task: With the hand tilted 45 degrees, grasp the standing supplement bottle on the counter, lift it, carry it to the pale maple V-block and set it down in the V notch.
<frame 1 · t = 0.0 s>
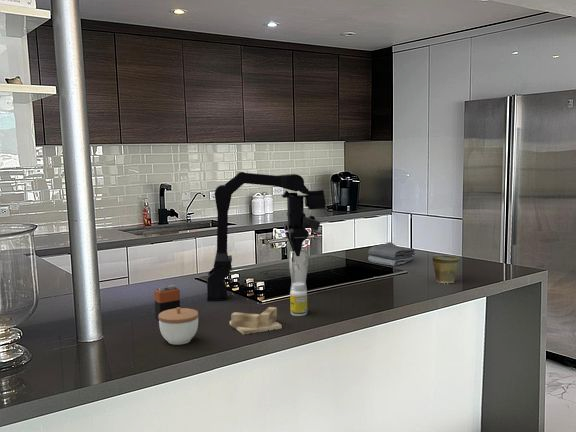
hand: (296, 253, 197), 15 cm above the counter, tool pointing down, fingers open, 8 cm apart
lidded jar: (179, 341, 153), on the counter
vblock: (253, 324, 166), on the counter
battery: (167, 318, 174), on the counter
beer glass: (298, 291, 205), on the counter, touching gripper
supplement bottle: (298, 314, 177), on the counter
towel: (391, 262, 256), on the counter
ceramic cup: (445, 282, 218), on the counter
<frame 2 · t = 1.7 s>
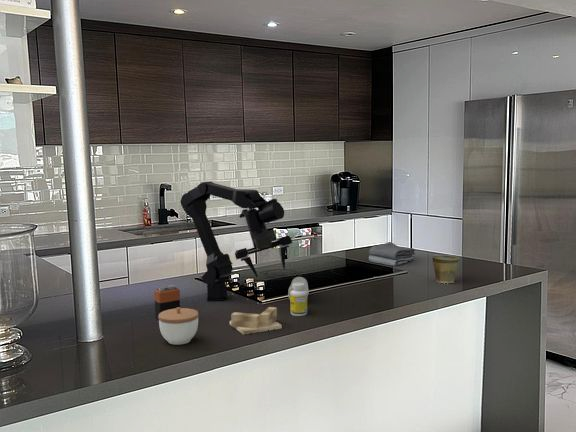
hand: (270, 273, 181), 12 cm above the counter, tool tilted 20°, fingers open, 9 cm apart
beer glass: (299, 284, 201), point 3 cm above the counter
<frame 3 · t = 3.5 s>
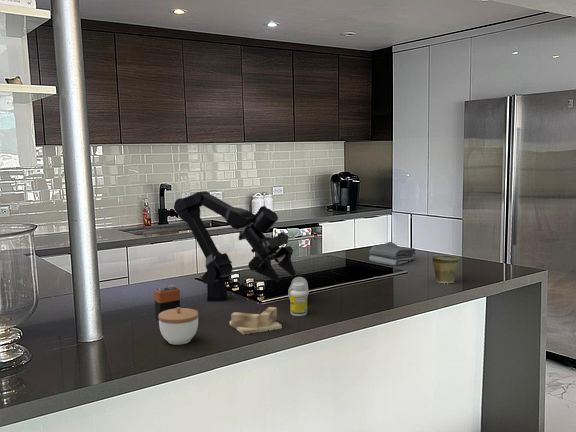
hand: (287, 278, 178), 11 cm above the counter, tool tilted 45°, fingers open, 9 cm apart
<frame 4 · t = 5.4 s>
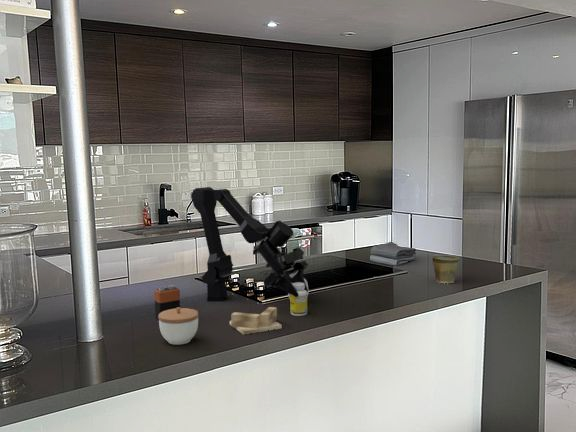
hand: (302, 294, 175), 7 cm above the counter, tool tilted 45°, fingers closed on supplement bottle, 5 cm apart
supplement bottle: (298, 314, 177), on the counter, touching gripper
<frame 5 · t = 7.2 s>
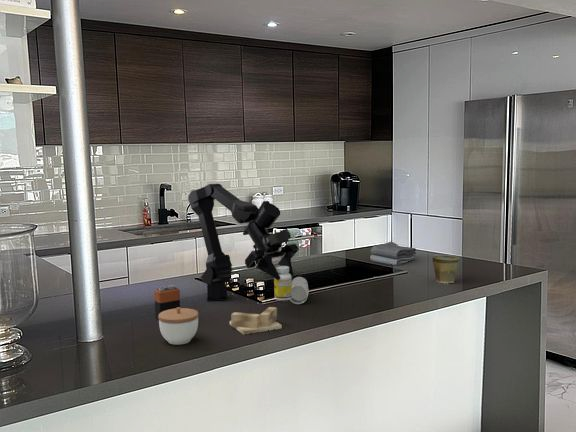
hand: (285, 277, 169), 13 cm above the counter, tool tilted 45°, fingers closed on supplement bottle, 5 cm apart
supplement bottle: (283, 298, 171), point 6 cm above the counter, touching gripper
when the fingers open (9 cm above the counter, at t = 9.1 s): supplement bottle drops 1 cm, resting on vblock.
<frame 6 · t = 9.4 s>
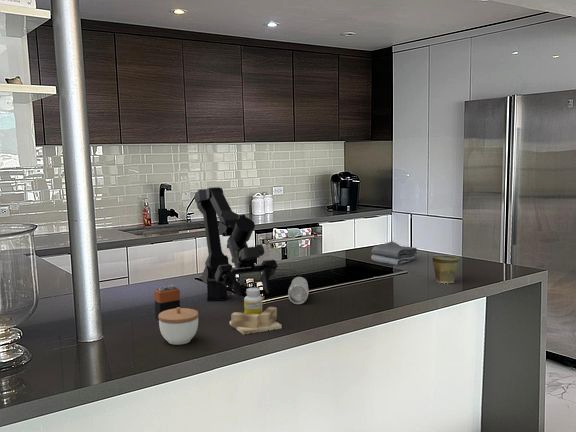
hand: (254, 294, 163), 10 cm above the counter, tool tilted 45°, fingers open, 8 cm apart
supplement bottle: (253, 321, 166), point 1 cm above the counter, touching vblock
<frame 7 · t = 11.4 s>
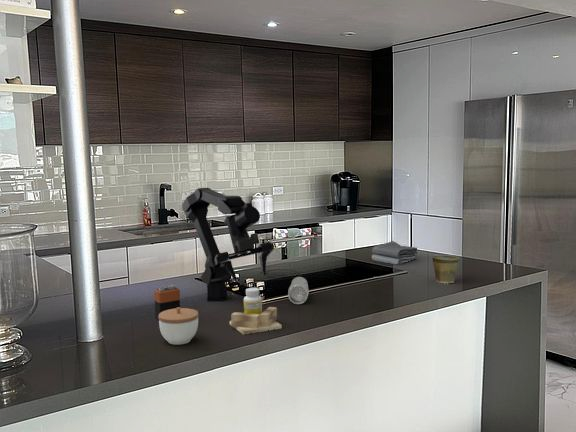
hand: (250, 279, 177), 11 cm above the counter, tool tilted 25°, fingers open, 9 cm apart
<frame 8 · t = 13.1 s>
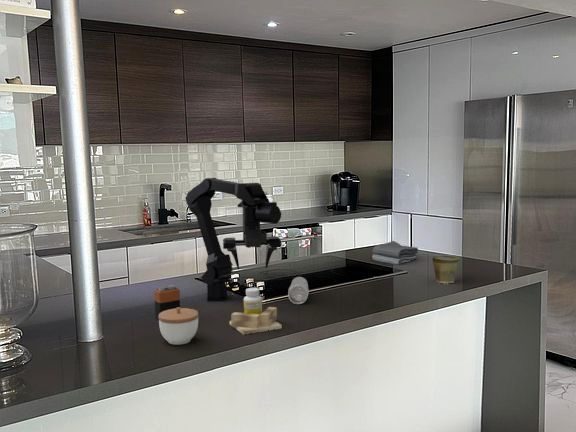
hand: (252, 268, 183), 13 cm above the counter, tool pointing down, fingers open, 9 cm apart
at the end: supplement bottle 0.1 cm from the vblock (horizontally); supplement bottle tilted 0°; the gripper is holding nothing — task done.
